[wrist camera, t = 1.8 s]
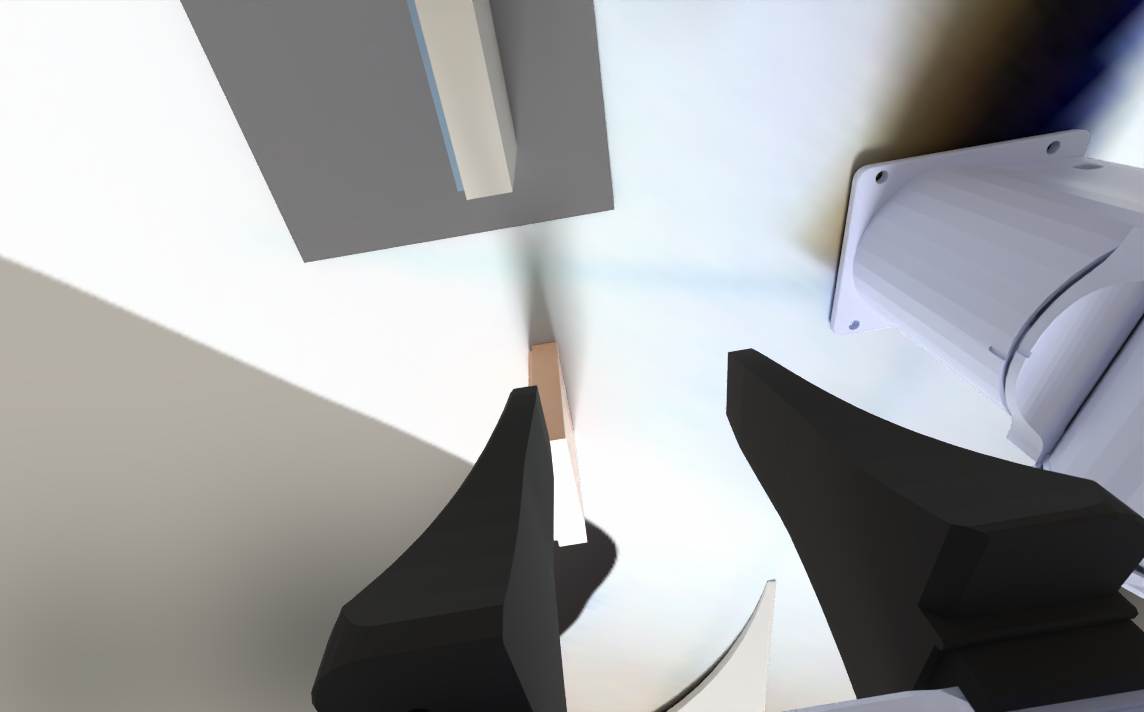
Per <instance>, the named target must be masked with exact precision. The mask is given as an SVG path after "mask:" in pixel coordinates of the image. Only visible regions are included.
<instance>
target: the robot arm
mask: <svg viewBox="0 0 1144 712" xmlns="http://www.w3.org/2000/svg"><path fill="white" fill-rule="evenodd" d="M1089 140H1090V133H1089V132H1088V131H1087V130H1081V129H1073V130H1067V131H1061V132H1055V133H1049V134H1043V135H1038V136H1032V137H1026V138H1020V139H1014V140H1009V141H1003V142H997V143H991V144H985V145H980V146H974V147H968V148H962V149H956V150H950V151H945V152H939V153H933V154H927V155H921V156H916V157H910V158H904V159H898V160H892V161H887V162H881V163H875V164H869V165H865V166H863V167H861V168H860V169H859V170H857V172H856V173H855V175H854V178H853V182H852V188H851V195H850V201H849V207H848V214H847V220H846V227H845V233H844V239H843V246H842V252H841V258H840V265H839V271H838V278H837V284H836V290H835V297H834V303H833V309H832V316H831V322H830V329H831V330H832V331H833V332H834V333H835V334H836V335H847V334H853V333H859V332H865V331H871V330H877V329H883V328H889V327H895V328H896V329H898V330H899V331H900V332H901V333H903V334H904V335H905V336H907V337H908V338H909V339H911V340H912V341H913V342H915V343H916V344H917V345H919V346H920V347H921V348H922V349H924V350H925V351H926V352H928V353H929V354H930V355H932V356H933V357H934V358H936V359H937V360H938V361H940V362H941V363H942V364H944V365H945V366H946V367H947V368H949V369H950V370H951V371H953V372H954V373H955V374H957V375H958V376H959V377H961V378H962V379H963V380H965V381H966V382H967V383H968V384H970V385H971V386H972V387H974V388H975V389H976V390H978V391H979V392H980V393H982V394H983V395H984V396H986V397H987V398H988V399H989V400H991V401H992V402H993V403H995V404H996V405H997V406H999V407H1000V408H1001V409H1003V410H1004V411H1005V412H1007V413H1008V414H1009V415H1011V416H1012V424H1011V428H1010V430H1009V432H1008V434H1007V437H1006V438H1007V439H1008V440H1009V441H1010V442H1012V443H1013V444H1014V445H1015V446H1016V447H1018V448H1019V449H1020V450H1021V451H1023V452H1024V453H1025V454H1026V455H1028V456H1029V457H1030V458H1031V459H1032V460H1034V461H1035V462H1036V464H1035V465H1034V466H1033V467H1030V466H1026V465H1022V464H1018V463H1014V462H1010V461H1007V460H1003V459H999V458H996V457H992V456H988V455H985V454H981V453H978V452H974V451H971V450H968V449H964V448H961V447H958V446H955V445H952V444H949V443H946V442H943V441H940V440H937V439H934V438H931V437H928V436H925V435H922V434H920V433H917V432H914V431H912V430H909V429H906V428H904V427H901V426H899V425H896V424H894V423H892V422H889V421H887V420H884V419H882V418H880V417H877V416H875V415H873V414H870V413H868V412H866V411H864V410H862V409H860V408H857V407H855V406H853V405H851V404H850V403H848V402H846V401H844V400H842V399H840V398H838V397H836V396H834V395H832V394H830V393H828V392H826V391H824V390H822V389H821V388H819V387H817V386H815V385H813V384H812V383H810V382H808V381H806V380H805V379H803V378H801V377H800V376H798V375H796V374H795V373H793V372H791V371H789V370H788V369H786V368H784V367H783V366H781V365H780V364H778V363H776V362H775V361H773V360H771V359H770V358H768V357H766V356H765V355H763V354H761V353H759V352H758V351H756V350H754V349H752V348H751V349H745V350H739V351H733V352H728V372H727V407H726V415H727V417H728V420H729V422H730V425H731V427H732V430H733V432H734V435H735V437H736V439H737V442H738V444H739V447H740V448H741V450H742V452H743V454H744V456H745V457H746V459H747V461H748V463H749V464H750V466H751V468H752V470H753V471H754V473H755V475H756V476H757V478H758V480H759V482H760V483H761V485H762V487H763V488H764V490H765V492H766V494H767V495H768V497H769V499H770V500H771V502H772V504H773V506H774V507H775V509H776V511H777V512H778V514H779V516H780V517H781V519H782V521H783V523H784V525H785V527H786V529H787V531H788V533H789V535H790V537H791V539H792V541H793V543H794V546H795V548H796V550H797V552H798V554H799V557H800V559H801V561H802V563H803V565H804V568H805V570H806V572H807V575H808V577H809V579H810V582H811V584H812V586H813V589H814V591H815V593H816V596H817V598H818V600H819V603H820V605H821V607H822V610H823V612H824V615H825V617H826V620H827V622H828V625H829V627H830V630H831V632H832V635H833V637H834V640H835V642H836V645H837V647H838V650H839V652H840V655H841V657H842V660H843V663H844V665H845V668H846V671H847V673H848V676H849V679H850V681H851V684H852V687H853V690H854V692H855V695H856V698H857V699H856V700H850V701H844V702H838V703H832V704H826V705H820V706H814V707H808V708H802V709H795V710H789V711H783V712H1144V632H1143V631H1142V630H1141V629H1140V628H1139V627H1138V626H1137V625H1136V624H1135V623H1134V622H1133V621H1132V620H1130V619H1133V618H1135V617H1136V616H1137V615H1138V612H1137V609H1136V607H1134V606H1133V605H1132V604H1131V603H1130V602H1129V601H1128V600H1127V599H1126V598H1125V597H1124V596H1122V595H1121V594H1120V593H1119V592H1118V590H1119V589H1120V587H1121V586H1122V587H1124V588H1126V589H1127V590H1129V591H1131V592H1133V593H1134V594H1136V595H1138V596H1140V597H1142V598H1144V169H1143V168H1138V167H1133V166H1128V165H1123V164H1118V163H1113V162H1108V161H1102V160H1097V159H1092V158H1087V157H1083V156H1084V154H1085V151H1086V149H1087V146H1088V144H1089ZM1050 144H1051V146H1050V148H1049V149H1048V150H1047V148H1048V146H1049V145H1050ZM881 171H882V172H883V174H882V177H881V178H880V179H879V180H878V181H876V179H875V178H876V176H877V174H878V173H879V172H881ZM852 321H855V322H854V323H853V324H852V325H851V326H849V325H850V323H851V322H852ZM553 550H554V470H553V460H552V451H551V443H550V439H549V434H548V430H547V426H546V421H545V417H544V413H543V409H542V404H541V400H540V396H539V391H538V387H537V385H534V386H528V387H523V388H517V389H513V391H512V392H511V393H510V396H509V398H508V401H507V403H506V406H505V408H504V410H503V413H502V415H501V417H500V419H499V421H498V423H497V425H496V427H495V429H494V431H493V433H492V435H491V437H490V439H489V441H488V443H487V445H486V447H485V448H484V450H483V452H482V453H481V455H480V457H479V458H478V460H477V462H476V463H475V465H474V467H473V468H472V470H471V472H470V473H469V475H468V476H467V478H466V479H465V481H464V482H463V484H462V485H461V487H460V488H459V489H458V491H457V492H456V494H455V495H454V496H453V498H452V499H451V500H450V501H449V503H448V504H447V505H446V507H445V508H444V509H443V510H442V511H441V513H440V514H439V515H438V517H437V518H436V519H435V520H434V521H433V522H432V524H431V525H430V526H429V527H428V528H427V529H426V530H425V532H424V533H423V534H422V535H421V536H420V537H419V538H418V539H417V540H416V541H415V542H414V543H413V544H412V545H411V546H410V547H409V548H408V549H407V550H406V551H405V552H404V553H403V554H402V555H401V556H400V557H399V558H398V559H397V560H396V561H395V562H394V563H393V564H392V565H391V566H390V567H389V568H388V569H386V570H385V571H384V572H383V573H382V574H381V575H380V576H379V577H377V578H376V579H375V580H374V581H373V582H372V583H370V584H369V585H368V586H367V587H366V588H365V589H363V590H362V591H361V592H360V593H359V594H357V595H356V596H355V597H354V598H353V599H352V600H350V601H349V602H348V603H347V604H345V605H344V606H343V607H342V609H341V612H340V615H339V617H338V619H337V621H336V623H335V626H334V628H333V630H332V632H331V635H330V638H329V640H328V643H327V646H326V649H325V653H324V655H323V658H322V661H321V664H320V667H319V670H318V673H317V676H316V680H315V683H314V686H313V689H312V692H311V694H312V704H313V705H314V707H315V708H316V710H317V711H318V712H567V707H566V698H565V688H564V678H563V668H562V658H561V647H560V636H559V626H558V616H557V604H556V591H555V579H554V551H553Z"/></svg>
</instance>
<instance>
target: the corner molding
mask: <svg viewBox="0 0 1144 712" xmlns="http://www.w3.org/2000/svg"><path fill="white" fill-rule="evenodd" d="M775 588H776V581H775V580H773V581H767V583H766V586H765V589H764V591H763V594H762V596H761V598H760V600H759V602H758V605H757V607H756V609H755V611H754V613H753V615H752V616H751V618H750V620H749V621H748V623H747V625H746V626H745V628H744V629H743V631H742V633H741V634H740V636H739V637H738V638H737V640H736V641H735V643H734V644H733V646H732V647H731V649H730V650H729V652H728V653H727V654H726V656H725V657H724V658H723V659H722V661H721V662H720V663H719V664H718V665H717V667H716V668H715V669H714V670H713V671H712V672H711V673H710V674H709V675H708V676H707V677H706V678H705V679H704V681H703V682H702V683H701V684H700V685H699V686H698V687H696V688H695V689H694V690H693V691H692V692H691V693H689V694H688V695H687V696H686V697H685V698H684V699H683V700H681V701H680V702H679V703H677V704H676V705H675V706H673V707H672V708H671V709H669V710H668V711H667V712H764V711H765V700H766V689H767V677H768V666H769V655H770V644H771V633H772V621H773V610H774V599H775Z"/></svg>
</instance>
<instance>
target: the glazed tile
mask: <svg viewBox="0 0 1144 712" xmlns="http://www.w3.org/2000/svg"><path fill="white" fill-rule="evenodd" d="M406 1H407V4H408V8H409V12H410V15H411V19H412V23H413V27H414V30H415V34H416V38H417V41H418V45H419V49H420V53H421V56H422V60H423V64H424V67H425V71H426V75H427V78H428V82H429V86H430V90H431V93H432V97H433V101H434V104H435V108H436V112H437V116H438V119H439V123H440V127H441V130H442V134H443V138H444V142H445V145H446V149H447V153H448V156H449V160H450V164H451V167H452V171H453V175H454V179H455V182H456V186H457V190H458V191H465V195H466V199H467V200H470V199H475V198H481V197H487V196H493V195H498V194H504V193H510V192H513V184H514V174H515V165H516V155H517V141H516V136H515V131H514V126H513V120H512V115H511V110H510V105H509V100H508V95H507V90H506V85H505V80H504V74H503V69H502V64H501V59H500V54H499V49H498V44H497V39H496V33H495V28H494V23H493V18H492V13H491V8H490V3H489V0H406Z"/></svg>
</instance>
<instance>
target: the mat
mask: <svg viewBox="0 0 1144 712" xmlns="http://www.w3.org/2000/svg"><path fill="white" fill-rule="evenodd" d="M180 1H181V3H182V5H183V7H184V9H185V12H186V14H187V16H188V18H189V20H190V22H191V24H192V26H193V28H194V31H195V33H196V35H197V37H198V39H199V41H200V43H201V45H202V48H203V50H204V52H205V54H206V56H207V58H208V60H209V62H210V64H211V67H212V69H213V71H214V73H215V75H216V77H217V79H218V81H219V83H220V86H221V88H222V90H223V92H224V94H225V96H226V98H227V100H228V102H229V105H230V107H231V109H232V111H233V113H234V115H235V117H236V119H237V122H238V124H239V126H240V128H241V130H242V132H243V134H244V136H245V138H246V141H247V143H248V145H249V147H250V149H251V151H252V153H253V155H254V157H255V160H256V162H257V164H258V166H259V168H260V170H261V172H262V174H263V176H264V179H265V181H266V183H267V185H268V187H269V189H270V191H271V193H272V196H273V198H274V200H275V202H276V204H277V206H278V208H279V210H280V212H281V215H282V217H283V219H284V221H285V223H286V225H287V227H288V229H289V231H290V234H291V236H292V238H293V240H294V242H295V244H296V246H297V248H298V251H299V253H300V255H301V257H302V259H303V261H304V263H306V262H312V261H317V260H323V259H329V258H335V257H341V256H347V255H352V254H358V253H364V252H370V251H376V250H381V249H387V248H393V247H399V246H405V245H410V244H416V243H422V242H428V241H434V240H440V239H445V238H451V237H457V236H463V235H469V234H474V233H480V232H486V231H492V230H498V229H503V228H509V227H515V226H521V225H527V224H533V223H538V222H544V221H550V220H556V219H562V218H567V217H573V216H579V215H585V214H591V213H597V212H602V211H608V210H614V202H613V192H612V182H611V172H610V162H609V153H608V143H607V133H606V123H605V113H604V104H603V94H602V84H601V74H600V64H599V55H598V45H597V35H596V25H595V15H594V6H593V0H489V3H490V8H491V13H492V18H493V23H494V28H495V33H496V39H497V44H498V49H499V54H500V59H501V64H502V69H503V74H504V80H505V85H506V90H507V95H508V100H509V105H510V110H511V115H512V120H513V126H514V131H515V136H516V141H517V155H516V165H515V174H514V184H513V192H510V193H504V194H498V195H493V196H487V197H481V198H475V199H470V200H467V199H466V195H465V191H458V190H457V186H456V182H455V179H454V175H453V171H452V167H451V164H450V160H449V156H448V153H447V149H446V145H445V142H444V138H443V134H442V130H441V127H440V123H439V119H438V116H437V112H436V108H435V104H434V101H433V97H432V93H431V90H430V86H429V82H428V78H427V75H426V71H425V67H424V64H423V60H422V56H421V53H420V49H419V45H418V41H417V38H416V34H415V30H414V27H413V23H412V19H411V15H410V12H409V8H408V4H407V1H406V0H180Z"/></svg>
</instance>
